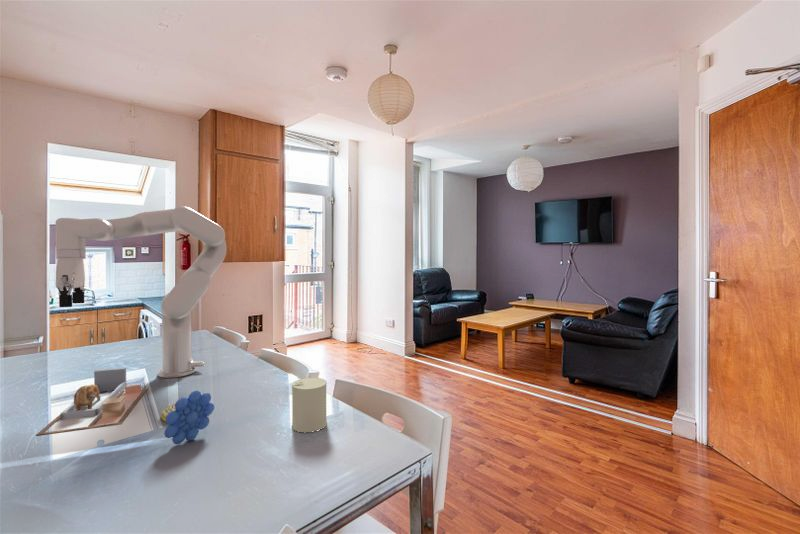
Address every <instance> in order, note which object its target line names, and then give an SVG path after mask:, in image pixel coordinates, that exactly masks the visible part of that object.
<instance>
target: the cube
mask: <svg viewBox="0 0 800 534" xmlns="http://www.w3.org/2000/svg"><path fill="white" fill-rule="evenodd" d="M125 406H126V403H125V397H121V396H120V397H119V398H110V399H107V400H106V401H105V402H104V403H103V404H102V409H103V410H102V411H103V416H102V417H103V418H111V417H119V416H121V415H122V414H123V412H124V411H125Z"/></svg>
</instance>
